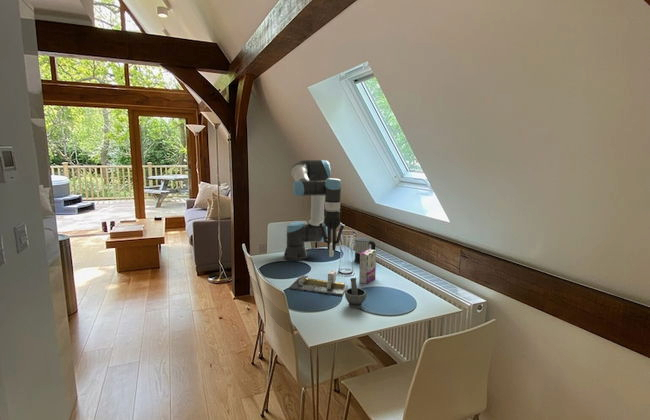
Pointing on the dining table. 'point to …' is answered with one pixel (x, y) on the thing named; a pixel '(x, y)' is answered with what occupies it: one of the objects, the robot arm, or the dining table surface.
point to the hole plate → (318, 288)
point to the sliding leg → (331, 278)
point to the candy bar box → (367, 266)
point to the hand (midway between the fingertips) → (331, 256)
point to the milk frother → (362, 247)
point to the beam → (318, 282)
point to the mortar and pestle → (355, 295)
